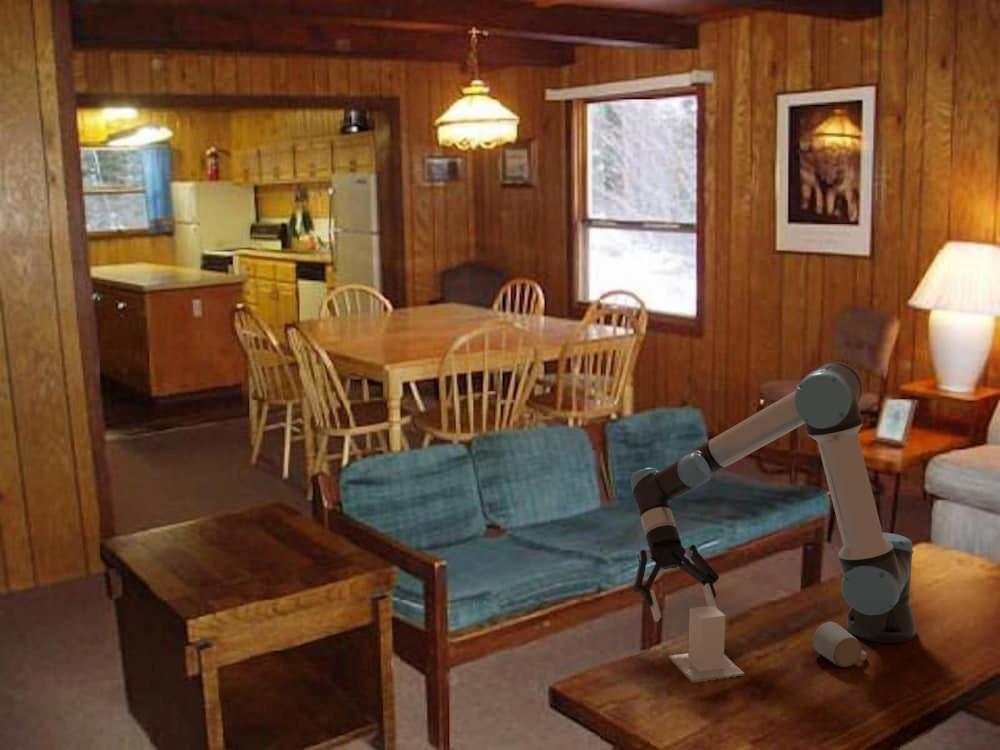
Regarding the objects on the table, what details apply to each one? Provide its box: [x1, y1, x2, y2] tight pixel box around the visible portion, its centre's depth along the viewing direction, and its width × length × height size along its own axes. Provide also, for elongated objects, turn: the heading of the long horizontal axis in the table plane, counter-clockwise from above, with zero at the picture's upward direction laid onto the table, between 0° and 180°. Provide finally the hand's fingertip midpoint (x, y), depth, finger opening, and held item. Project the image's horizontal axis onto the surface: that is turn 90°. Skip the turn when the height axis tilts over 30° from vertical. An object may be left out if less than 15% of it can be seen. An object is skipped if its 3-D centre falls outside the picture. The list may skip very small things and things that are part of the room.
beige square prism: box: [688, 605, 726, 671], centre depth 228 cm, size 6×6×12 cm
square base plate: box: [668, 652, 745, 684], centre depth 228 cm, size 12×12×7 cm
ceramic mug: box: [812, 621, 868, 668], centre depth 231 cm, size 11×8×8 cm
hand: (686, 616), depth 237 cm, fingers open, 13 cm apart
